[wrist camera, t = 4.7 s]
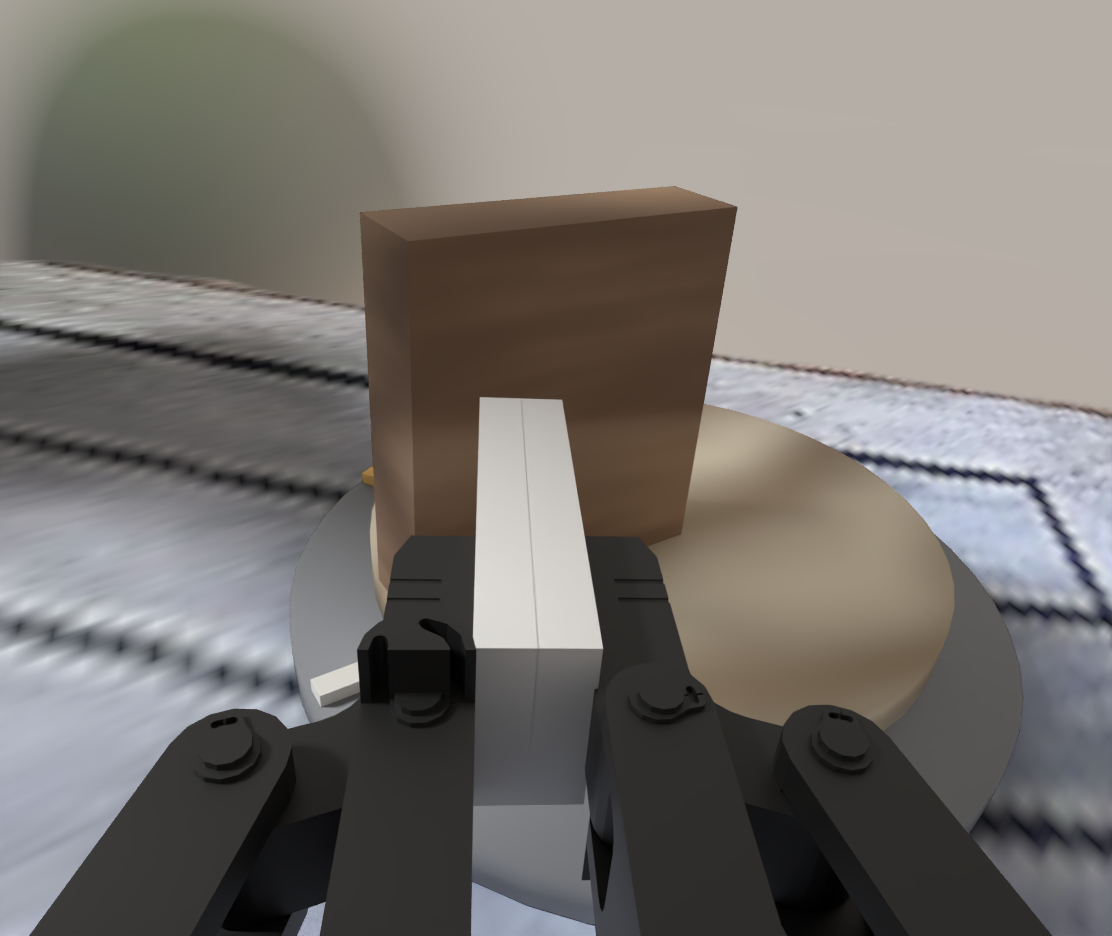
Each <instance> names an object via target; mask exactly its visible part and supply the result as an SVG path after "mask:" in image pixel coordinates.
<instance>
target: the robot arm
mask: <svg viewBox="0 0 1112 936" xmlns="http://www.w3.org/2000/svg"><path fill="white" fill-rule="evenodd" d="M668 599H669V598H668V594H667V591H666V587H665V584H663V576H662V573H661V569H660V566H659V562H658V559H657V556H656V555H655V554H654V553H653V552H652V551H651V550H650V549H649V548H648V547H647V546H646V545H645V543H644V542H643V541H642V540H641V539H640V538H639V537H617V536H584V530H583V523H582V517H581V511H580V505H579V499H578V493H577V487H576V481H575V475H574V469H573V463H572V457H571V451H570V445H569V439H568V433H567V427H566V420H565V414H564V408H563V402H562V400H555V399H523V398H490V397H480V410H479V445H478V479H477V514H476V536H414V535H411V536H410V537H409V538H408V540H407V541H406V542H405V543H404V544H403V546H402V547H401V548H400V549H399V550H398V551H397V553H396V554H395V555H394V558H393V564H392V570H391V576H390V583H389V588H388V594H387V603H386V606H385V612H384V617H383V621H380V622H378V623H377V624H376V625H375V626H374V627H373V628H371V629H370V630H369V631H368V632H367V633H365V634H364V636H363V638H362V640H361V642H360V644H359V646H358V648H357V659H358V672H359V686H360V698H359V699H358V700H357V701H356V702H355V703H353V704H352V705H351V706H350V707H348V708H347V709H345V710H343V711H341V712H340V713H338V714H336V715H334V716H331V717H328V718H326V719H323V720H320V721H317V722H313V723H309V724H306V725H302V726H298V727H294V728H290V729H287V728H286V727H285V726H284V725H283V724H282V722H281V721H280V720H279V719H278V718H277V717H276V716H273V715H270V714H268V713H265V712H262V711H260V710H257V709H231V710H227V711H223V712H219V713H215V714H211V715H208V716H207V717H205V718H203V719H201V720H199V721H197V722H195V723H194V724H192V725H190V726H188V727H187V728H186V729H185V730H184V731H183V732H182V733H181V734H180V735H179V736H178V737H177V738H176V739H174V740H173V741H172V742H171V743H170V745H169V746H168V747H167V749H166V750H165V751H164V753H163V754H162V756H161V757H160V758H159V760H158V761H157V762H156V764H155V765H154V766H153V768H152V769H151V771H150V772H149V773H148V775H147V776H146V777H145V779H144V780H143V781H142V783H141V784H140V786H139V787H138V788H137V790H136V791H135V792H134V794H133V795H132V796H131V798H130V799H129V801H128V802H127V803H126V805H125V806H124V807H123V809H122V810H121V811H120V813H119V814H118V816H117V817H116V818H115V820H114V821H113V822H112V824H111V825H110V826H109V828H108V829H107V830H106V832H105V833H104V835H103V836H102V837H101V839H100V840H99V841H98V843H97V844H96V845H95V847H94V848H93V850H92V851H91V852H90V854H89V855H88V856H87V858H86V859H85V860H84V862H83V863H82V865H81V866H80V867H79V869H78V870H77V871H76V873H75V874H74V875H73V877H72V878H71V880H70V881H69V882H68V884H67V885H66V886H65V888H64V889H63V890H62V892H61V893H60V895H59V896H58V897H57V899H56V900H55V901H54V903H53V904H52V905H51V907H50V908H49V910H48V911H47V912H46V914H45V915H44V916H43V918H42V919H41V920H40V922H39V923H38V924H37V926H36V927H35V929H34V930H33V931H32V933H31V934H30V935H29V936H297V934H298V932H299V930H300V928H301V925H302V923H303V921H304V919H305V916H306V914H307V911H308V908H309V907H312V906H315V905H318V904H320V903H323V902H326V903H325V909H324V914H323V920H322V926H321V932H320V936H471V898H472V846H473V806H503V805H578V804H584V798H585V790H586V785H587V794H588V802H589V811H590V818H589V825H588V833H587V840H586V848H585V856H584V863H583V872H582V880H590V881H591V891H592V900H593V910H594V919H595V929H596V936H1052V935H1051V934H1050V933H1049V931H1048V930H1047V929H1046V928H1045V926H1044V925H1043V924H1042V923H1041V922H1040V920H1039V919H1038V918H1037V917H1036V915H1035V914H1034V913H1033V912H1032V911H1031V909H1030V908H1029V907H1028V906H1027V904H1026V903H1025V902H1024V901H1023V900H1022V898H1021V897H1020V896H1019V895H1018V893H1017V892H1016V891H1015V890H1014V889H1013V887H1012V886H1011V885H1010V884H1009V882H1008V881H1007V880H1006V879H1005V878H1004V876H1003V875H1002V874H1001V873H1000V871H999V870H998V869H997V868H996V867H995V865H994V864H993V863H992V862H991V860H990V859H989V858H988V857H987V856H986V854H985V853H984V852H983V851H982V849H981V848H980V847H979V846H978V845H977V843H976V842H975V841H974V840H973V838H972V837H971V836H970V835H969V834H968V832H967V831H966V830H965V829H964V827H963V826H962V825H961V824H960V823H959V821H958V820H957V819H956V818H955V817H954V815H953V814H952V813H951V812H950V810H949V809H948V808H947V807H946V806H945V804H944V803H943V802H942V801H941V799H940V798H939V797H938V796H937V795H936V793H935V792H934V791H933V790H932V788H931V787H930V786H929V785H928V784H927V782H926V781H925V780H924V779H923V777H922V776H921V775H920V774H919V773H918V771H917V770H916V769H915V768H914V766H913V765H912V764H911V763H910V762H909V760H908V759H907V758H906V757H905V755H904V754H903V753H902V752H901V751H900V749H899V748H898V747H897V746H896V744H895V743H894V742H893V741H892V740H891V738H890V737H889V736H888V735H887V734H886V733H885V732H884V731H882V730H881V729H880V728H879V727H878V726H877V725H876V724H875V723H874V722H873V721H871V720H869V719H867V718H865V717H864V716H862V715H860V714H858V713H856V712H854V711H852V710H849V709H845V708H841V707H837V706H833V705H808V706H806V707H804V708H801V709H799V710H797V711H794V712H793V713H792V714H791V715H790V717H789V718H788V719H787V721H786V722H785V723H784V725H783V726H780V725H776V724H772V723H768V722H764V721H760V720H756V719H752V718H749V717H745V716H742V715H740V714H737V713H734V712H731V711H729V710H727V709H725V708H724V707H722V706H720V705H718V704H716V703H715V702H714V701H713V699H712V698H711V696H710V694H709V692H708V691H707V689H706V687H705V686H704V685H703V684H702V683H700V682H699V681H698V680H697V679H696V678H695V677H693V676H692V675H691V673H690V671H689V668H688V665H687V661H686V658H685V654H684V650H683V647H682V643H681V640H680V636H679V633H678V629H677V626H676V622H675V619H674V615H673V612H672V608H671V605H670V603H669V601H668Z"/></svg>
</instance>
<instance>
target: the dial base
mask: <svg viewBox="0 0 1112 936" xmlns="http://www.w3.org/2000/svg"><path fill="white" fill-rule="evenodd" d="M374 503H375V494H374V475H373V466H371V467H370V468H369V469H367V470H366V471H364V472H363V473H362V481H361V482H360V483H359V484H357V485H356V486H355V487H354V488H352V489H351V490H350V491H349V492H347V493H346V494H345V495H344V496H343V497H342V498H341V499H340V500H339V501H338V502H337V503H336V504H335V506H334V507H333V508H332V509H331V510H330V511H329V512H328V513H327V514H326V515H325V516H324V518H323V519H322V521H321V522H320V524H319V525H318V527H317V528H316V530H315V531H314V533H313V534H312V535H311V537H310V538H309V540H308V542H307V544H306V547H305V549H304V551H303V553H302V556H301V558H300V560H299V563H298V565H297V567H296V572H295V576H294V581H293V585H292V590H291V594H290V635H291V643H292V651H293V659H294V667H295V672H296V677H297V682H298V687H299V692H300V697H301V702H302V705H303V707H304V710H305V712H306V714H307V717H308V719H309V722H310V723H313V722H317V721H320V720H323V719H326V718H328V717H331V716H334V715H336V714H338V713H340V712H341V711H343V710H345V709H347V708H348V707H350V706H351V705H352V704H353V703H355V702H356V701H357V700H358V699H359V698H360V686H359V672H358V659H357V648H358V646H359V644H360V642H361V640H362V638H363V636H364V634H365V633H367V632H368V631H369V630H370V629H371V628H373V627H374V626H375V625H376V624H377V623H378V622H380V621H383V617H382V614H381V611H380V608H379V605H378V602H377V600H376V597H375V590H374V582H373V575H372V561H371V543H370V526H371V516H372V509H373V506H374ZM934 535H935V534H934ZM935 536H936V535H935ZM936 538H937V539H938V541H939V543H940V545H941V547H942V549H943V552H944V554H945V556H946V558H947V560H948V562H949V566H950V570H951V574H952V578H953V582H954V612H953V616H952V620H951V624H950V629H949V632H948V635H947V637H946V640H945V642H944V645H943V647H942V650H941V652H940V655H939V657H938V660H937V662H936V665H935V668H934V670H933V672H932V674H931V676H930V678H929V680H928V682H927V684H926V686H925V687H924V689H923V691H922V693H921V695H920V696H919V698H918V699H917V700H916V701H915V702H914V703H913V704H912V706H911V707H910V708H909V709H908V710H907V711H906V712H905V714H904V715H903V716H902V717H901V718H900V719H898V720H897V721H896V722H895V723H893V724H892V725H891V726H889V727H888V728H887V729H885V730H884V732H885V733H886V734H887V735H888V736H889V737H890V738H891V740H892V741H893V742H894V743H895V744H896V746H897V747H898V748H899V749H900V751H901V752H902V753H903V754H904V755H905V757H906V758H907V759H908V760H909V762H910V763H911V764H912V765H913V766H914V768H915V769H916V770H917V771H918V773H919V774H920V775H921V776H922V777H923V779H924V780H925V781H926V782H927V784H928V785H929V786H930V787H931V788H932V790H933V791H934V792H935V793H936V795H937V796H938V797H939V798H940V799H941V801H942V802H943V803H944V804H945V806H946V807H947V808H948V809H949V810H950V812H951V813H952V814H953V815H954V817H955V818H956V819H957V820H958V821H959V823H960V824H961V825H962V826H963V827H964V829H965V830H966V831H967V832H968V834H969V833H970V832H971V830H972V829H973V827H974V826H975V824H976V823H977V821H978V819H979V818H980V816H981V815H982V813H983V812H984V810H985V809H986V807H987V806H988V804H989V802H990V800H991V798H992V796H993V794H994V792H995V790H996V788H997V786H998V784H999V782H1000V780H1001V778H1002V776H1003V774H1004V772H1005V770H1006V768H1007V765H1008V763H1009V760H1010V757H1011V754H1012V752H1013V749H1014V746H1015V743H1016V741H1017V738H1018V735H1019V731H1020V723H1021V714H1022V705H1023V692H1022V683H1021V674H1020V665H1019V662H1018V658H1017V655H1016V652H1015V649H1014V646H1013V643H1012V639H1011V636H1010V633H1009V631H1008V629H1007V627H1006V625H1005V623H1004V621H1003V619H1002V617H1001V615H1000V613H999V611H998V609H997V608H996V606H995V604H994V602H993V601H992V599H991V598H990V596H989V595H988V594H987V592H986V591H985V589H984V588H983V586H982V585H981V584H980V582H979V581H978V579H977V578H976V576H975V575H974V574H973V573H972V572H971V571H970V570H969V568H968V567H967V566H966V565H965V564H964V563H963V562H962V561H961V560H960V559H959V557H958V556H957V555H956V554H955V553H954V552H953V551H952V550H951V549H950V548H949V547H948V546H947V545H946V544H945V543H944V542H942V541H941V540H940V539H939V538H938V537H937V536H936ZM589 818H590V811H589V802H588V794H587V785H586V790H585V798H584V804H578V805H503V806H473V846H472V881H473V882H475V883H477V884H479V885H482V886H484V887H486V888H489V889H491V890H493V891H495V892H498V893H500V894H502V895H504V896H507V897H509V898H511V899H514V900H516V901H518V902H520V903H523V904H525V905H528V906H531V907H534V908H538V909H541V910H545V911H548V912H551V913H555V914H558V915H561V916H565V917H568V918H571V919H575V920H578V921H582V922H585V923H588V924H593V925H595V919H594V910H593V900H592V891H591V881H590V880H582V872H583V863H584V856H585V848H586V840H587V833H588V825H589Z"/></svg>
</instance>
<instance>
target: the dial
mask: <svg viewBox="0 0 1112 936" xmlns="http://www.w3.org/2000/svg"><path fill="white" fill-rule="evenodd" d="M736 212H737V207H736V206H733V205H731V204H728V203H725V202H721V201H718V200H715V199H712V198H709V197H706V196H703V195H700V194H697V193H694V192H691V191H688V190H685V189H682V188H679V187H676V186H671V187H660V188H647V189H635V190H624V191H612V192H600V193H599V192H598V193H587V194H574V195H562V196H550V197H538V198H527V199H514V200H502V201H490V202H478V203H465V204H453V205H441V206H429V207H417V208H405V209H393V210H381V211H369V212H360V222H361V223H360V224H361V242H362V243H361V244H362V260H363V261H362V263H363V282H364V299H365V300H364V301H365V321H366V340H367V359H368V378H369V398H370V417H371V436H372V455H373V475H374V494H375V503H374V506H373V509H372V516H371V526H370V543H371V561H372V575H373V582H374V590H375V597H376V600H377V602H378V605H379V608H380V611H381V614H382V617H384V612H385V606H386V603H387V594H388V588H389V583H390V576H391V570H392V564H393V558H394V555H395V554H396V553H397V551H398V550H399V549H400V548H401V547H402V546H403V544H404V543H405V542H406V541H407V540H408V538H409V537H410V536H411V535H414V536H476V514H477V479H478V445H479V410H480V397H490V398H523V399H555V400H562V402H563V408H564V414H565V420H566V427H567V433H568V439H569V445H570V451H571V457H572V463H573V469H574V475H575V481H576V487H577V493H578V499H579V505H580V511H581V517H582V523H583V530H584V536H617V537H639V538H640V539H641V540H642V541H643V542H644V543H645V545H646V546H647V547H648V548H649V549H650V550H651V551H652V552H653V553H654V554H655V555H656V556H657V559H658V562H659V566H660V569H661V573H662V576H663V584H665V587H666V591H667V594H668V598H669V599H668V601H669V603H670V605H671V608H672V612H673V615H674V619H675V622H676V626H677V629H678V633H679V636H680V640H681V643H682V647H683V650H684V654H685V658H686V661H687V665H688V668H689V671H690V673H691V675H692V676H693V677H695V678H696V679H697V680H698V681H699V682H700V683H702V684H703V685H704V686H705V687H706V689H707V691H708V692H709V694H710V696H711V698H712V699H713V701H714V702H715V703H716V704H718V705H720V706H722V707H724V708H725V709H727V710H729V711H731V712H734V713H737V714H740V715H742V716H745V717H749V718H752V719H756V720H760V721H764V722H768V723H772V724H776V725H780V726H783V725H784V723H785V722H786V721H787V719H788V718H789V717H790V715H791V714H792V713H793V712H794V711H797V710H799V709H801V708H804V707H806V706H808V705H833V706H837V707H841V708H845V709H849V710H852V711H854V712H856V713H858V714H860V715H862V716H864V717H865V718H867V719H869V720H871V721H873V722H874V723H875V724H876V725H877V726H878V727H879V728H880V729H881V730H882V731H884V730H885V729H887V728H888V727H889V726H891V725H892V724H893V723H895V722H896V721H897V720H898V719H900V718H901V717H902V716H903V715H904V714H905V712H906V711H907V710H908V709H909V708H910V707H911V706H912V704H913V703H914V702H915V701H916V700H917V699H918V698H919V696H920V695H921V693H922V691H923V689H924V687H925V686H926V684H927V682H928V680H929V678H930V676H931V674H932V672H933V670H934V668H935V665H936V662H937V660H938V657H939V655H940V652H941V650H942V647H943V645H944V642H945V640H946V637H947V635H948V632H949V629H950V624H951V620H952V616H953V612H954V582H953V578H952V574H951V570H950V566H949V562H948V560H947V558H946V556H945V554H944V552H943V549H942V547H941V545H940V543H939V541H938V539H937V538H936V536H935V535H934V533H933V532H932V531H931V529H930V528H929V526H928V525H927V523H926V522H925V520H924V519H923V518H922V517H921V516H920V515H919V514H918V513H917V511H916V510H915V509H914V508H913V507H912V506H911V505H910V504H909V503H908V501H907V500H905V499H904V498H903V497H902V496H901V495H900V494H899V493H897V492H896V491H895V490H894V489H893V488H892V487H891V486H890V485H888V484H887V483H886V482H885V481H883V480H882V479H880V478H879V477H878V476H876V475H875V474H874V473H872V472H871V471H869V470H868V469H867V468H865V467H864V466H862V465H860V464H859V463H857V462H855V461H854V460H852V459H850V458H849V457H847V456H846V455H844V454H842V453H841V452H839V451H837V450H835V449H833V448H831V447H829V446H827V445H825V444H823V443H821V442H819V441H817V440H815V439H812V438H810V437H808V436H805V435H803V434H801V433H798V432H796V431H794V430H791V429H789V428H786V427H783V426H780V425H778V424H775V423H772V422H769V421H766V420H763V419H761V418H757V417H754V416H750V415H747V414H743V413H740V412H736V411H733V410H728V409H724V408H719V407H715V406H711V405H706V404H704V399H705V393H706V387H707V381H708V376H709V370H710V364H711V358H712V352H713V346H714V341H715V335H716V329H717V323H718V317H719V311H720V306H721V299H722V294H723V288H724V282H725V277H726V271H727V265H728V259H729V253H730V247H731V242H732V236H733V230H734V224H735V218H736Z"/></svg>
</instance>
